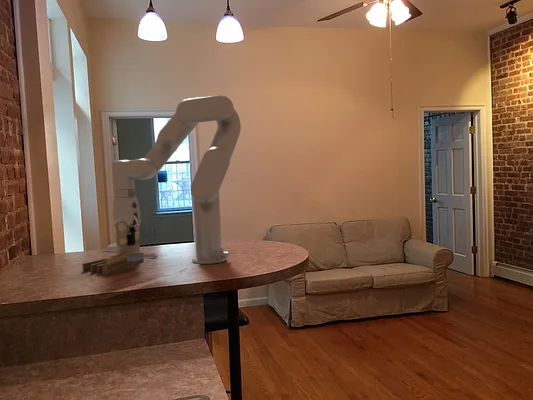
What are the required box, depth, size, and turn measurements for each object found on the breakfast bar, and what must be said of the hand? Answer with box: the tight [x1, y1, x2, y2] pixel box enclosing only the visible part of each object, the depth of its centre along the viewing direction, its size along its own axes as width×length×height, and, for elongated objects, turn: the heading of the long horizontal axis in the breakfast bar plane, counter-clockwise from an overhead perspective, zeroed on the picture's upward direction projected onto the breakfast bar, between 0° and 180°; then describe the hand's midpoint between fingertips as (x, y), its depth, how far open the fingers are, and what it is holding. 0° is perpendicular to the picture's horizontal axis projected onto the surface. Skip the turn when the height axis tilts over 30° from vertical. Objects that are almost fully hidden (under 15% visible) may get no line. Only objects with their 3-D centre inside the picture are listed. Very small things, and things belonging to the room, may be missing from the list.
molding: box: [102, 242, 159, 260], centre depth 194 cm, size 42×12×3 cm, turn 37°
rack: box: [81, 258, 135, 277], centre depth 157 cm, size 15×11×4 cm
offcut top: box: [101, 254, 127, 267], centre depth 155 cm, size 4×7×2 cm, turn 147°
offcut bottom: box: [102, 266, 107, 274], centre depth 155 cm, size 4×8×2 cm, turn 147°
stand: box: [112, 251, 150, 266], centre depth 169 cm, size 9×11×4 cm
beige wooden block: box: [115, 222, 141, 255], centre depth 168 cm, size 3×8×14 cm, turn 147°
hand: (128, 244), depth 168 cm, fingers closed on beige wooden block, 3 cm apart
